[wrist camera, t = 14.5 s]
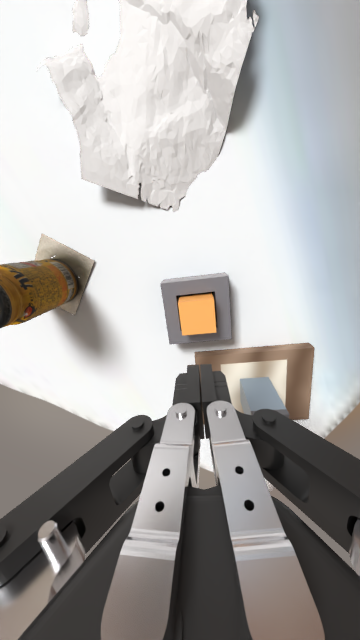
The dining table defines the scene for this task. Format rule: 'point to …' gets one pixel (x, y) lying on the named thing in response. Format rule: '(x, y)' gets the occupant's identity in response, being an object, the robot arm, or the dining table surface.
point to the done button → (197, 314)
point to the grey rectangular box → (260, 396)
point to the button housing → (192, 286)
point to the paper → (155, 94)
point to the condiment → (43, 283)
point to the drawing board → (267, 372)
